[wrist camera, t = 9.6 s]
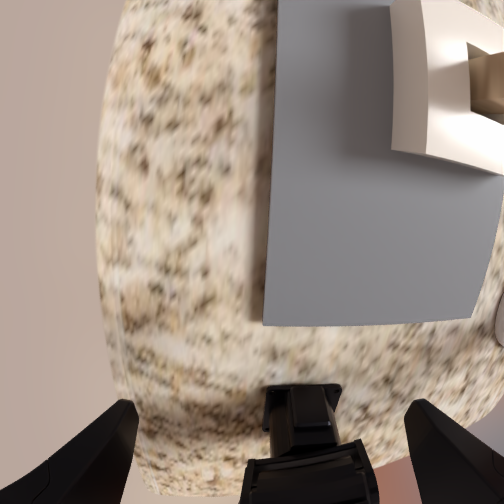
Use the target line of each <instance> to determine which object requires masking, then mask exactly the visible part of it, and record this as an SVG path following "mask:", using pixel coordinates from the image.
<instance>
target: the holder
mask: <svg viewBox="0 0 504 504" xmlns="http://www.w3.org/2000/svg"><path fill="white" fill-rule="evenodd" d="M389 7H390V17H391V29H392V44H393V75H394V95H393V127H392V144H391V150H396V151H401V152H407V153H412V154H417V155H421V156H426V157H431V158H435V159H439V160H443V161H448V162H452V163H456V164H459V165H463V166H467V167H471V168H474V169H478V170H481V171H485V172H488V173H491V174H495V175H498V176H501V177H504V114H476V113H474V112H472V111H470V76H469V63H468V60H470V59H474V58H478V57H482V56H486V55H491V54H495V53H500V52H504V28H503V27H502V26H500V25H499V24H497V23H496V22H494V21H493V20H491V19H489V18H488V17H486V16H485V15H483V14H481V13H479V12H478V11H476V10H474V9H473V8H471V7H469V6H467V5H465V4H463V3H462V2H460V1H458V0H395V1H394V2H393V3H392V4H391V5H390V6H389Z"/></svg>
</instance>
